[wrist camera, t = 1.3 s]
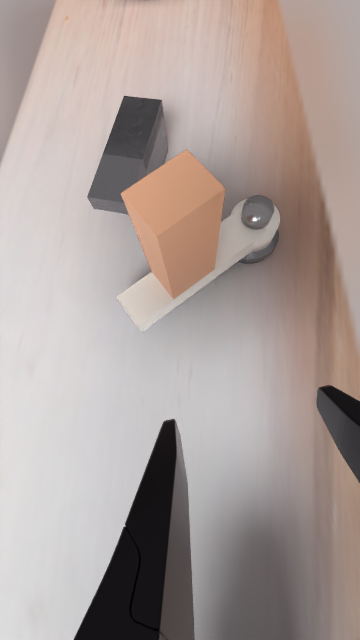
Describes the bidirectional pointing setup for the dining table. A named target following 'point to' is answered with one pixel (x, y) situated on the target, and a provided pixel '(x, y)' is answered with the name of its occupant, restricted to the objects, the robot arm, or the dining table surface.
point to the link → (184, 236)
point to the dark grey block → (129, 152)
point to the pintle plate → (260, 253)
